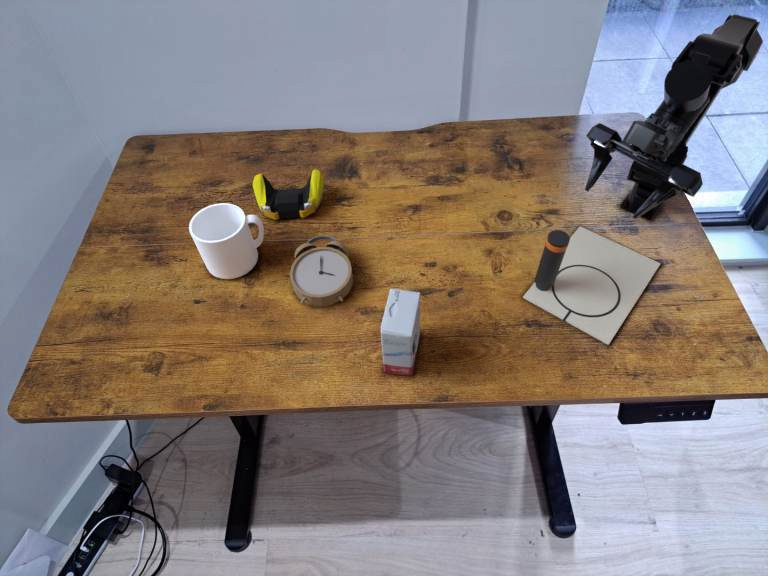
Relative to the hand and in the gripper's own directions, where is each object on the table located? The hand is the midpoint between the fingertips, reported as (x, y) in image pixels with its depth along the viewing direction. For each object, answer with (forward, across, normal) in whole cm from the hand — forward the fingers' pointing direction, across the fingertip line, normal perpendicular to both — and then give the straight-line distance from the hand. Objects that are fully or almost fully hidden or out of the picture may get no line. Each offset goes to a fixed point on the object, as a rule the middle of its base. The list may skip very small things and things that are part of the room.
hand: (609, 204), depth 85 cm
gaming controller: (+33, -51, -14) cm, 62 cm away
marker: (+18, -1, +1) cm, 18 cm away
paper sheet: (+12, +4, +7) cm, 15 cm away
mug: (+44, -45, -25) cm, 68 cm away
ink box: (+38, -8, -18) cm, 43 cm away
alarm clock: (+38, -30, -18) cm, 52 cm away
